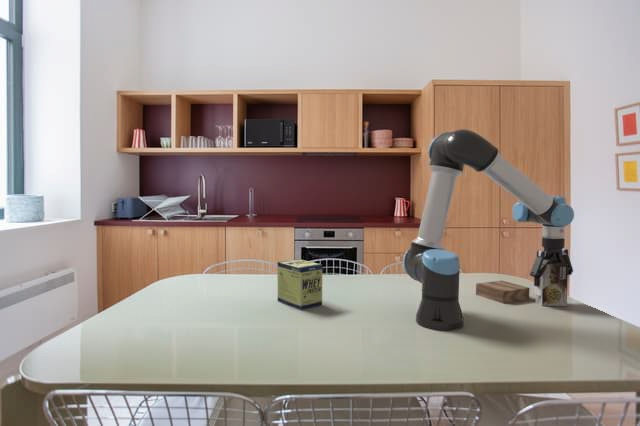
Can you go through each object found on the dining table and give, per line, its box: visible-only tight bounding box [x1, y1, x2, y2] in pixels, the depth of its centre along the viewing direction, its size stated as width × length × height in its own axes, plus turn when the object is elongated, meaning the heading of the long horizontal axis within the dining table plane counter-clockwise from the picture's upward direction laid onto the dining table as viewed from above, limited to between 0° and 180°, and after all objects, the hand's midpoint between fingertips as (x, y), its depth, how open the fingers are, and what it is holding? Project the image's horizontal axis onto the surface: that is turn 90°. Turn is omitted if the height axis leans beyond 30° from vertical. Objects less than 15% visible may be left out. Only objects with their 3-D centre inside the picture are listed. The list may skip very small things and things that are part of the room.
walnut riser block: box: [475, 280, 530, 304], centre depth 175 cm, size 14×14×5 cm
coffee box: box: [535, 262, 569, 307], centre depth 164 cm, size 9×6×16 cm
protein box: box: [277, 258, 323, 311], centre depth 166 cm, size 10×16×16 cm
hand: (551, 293), depth 165 cm, fingers open, 13 cm apart
